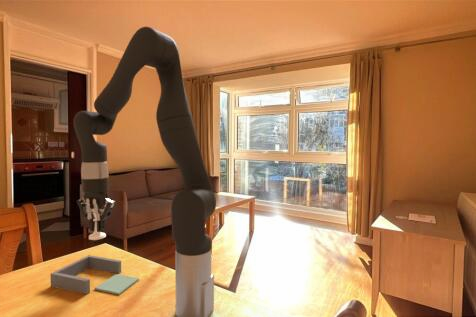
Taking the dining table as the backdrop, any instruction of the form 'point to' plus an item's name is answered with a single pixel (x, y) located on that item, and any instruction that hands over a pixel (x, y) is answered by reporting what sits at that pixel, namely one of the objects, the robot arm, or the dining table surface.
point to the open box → (67, 277)
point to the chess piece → (96, 234)
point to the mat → (117, 284)
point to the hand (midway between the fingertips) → (97, 230)
